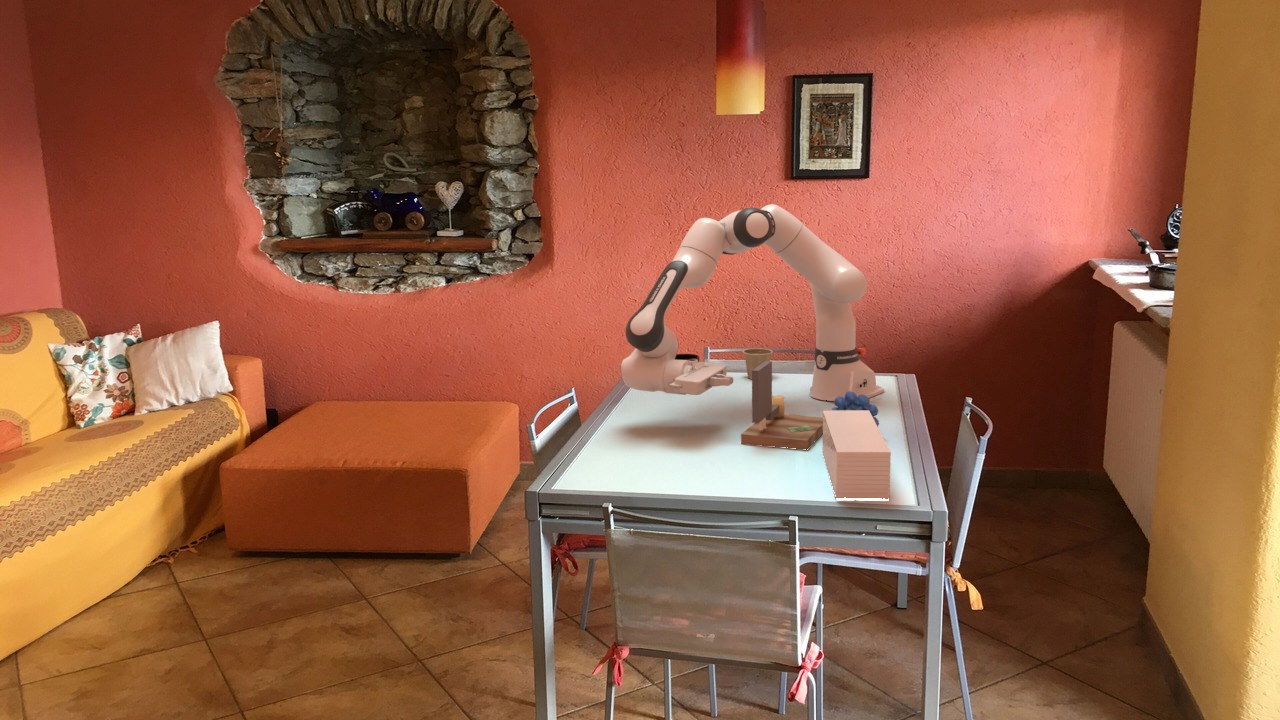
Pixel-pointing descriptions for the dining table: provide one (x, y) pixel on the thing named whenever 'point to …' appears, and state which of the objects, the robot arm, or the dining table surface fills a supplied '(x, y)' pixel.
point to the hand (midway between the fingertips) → (731, 381)
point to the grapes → (856, 404)
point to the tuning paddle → (764, 396)
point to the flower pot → (755, 358)
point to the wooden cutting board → (785, 432)
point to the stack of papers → (855, 454)
